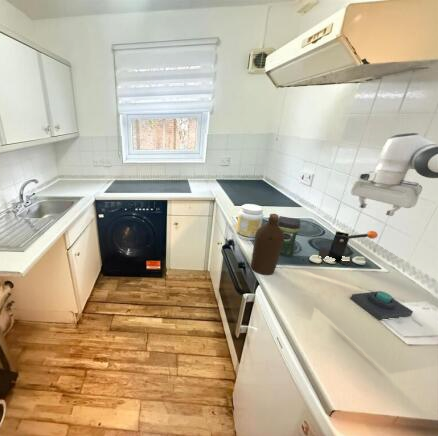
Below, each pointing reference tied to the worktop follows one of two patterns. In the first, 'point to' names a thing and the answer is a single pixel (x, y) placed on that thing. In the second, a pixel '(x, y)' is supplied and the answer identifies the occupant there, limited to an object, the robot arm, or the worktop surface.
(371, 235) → the switch
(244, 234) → the supplement tub
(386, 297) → the button
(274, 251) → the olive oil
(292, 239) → the coffee jar
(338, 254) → the switch bracket
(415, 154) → the robot arm
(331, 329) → the worktop surface
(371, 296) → the button housing
